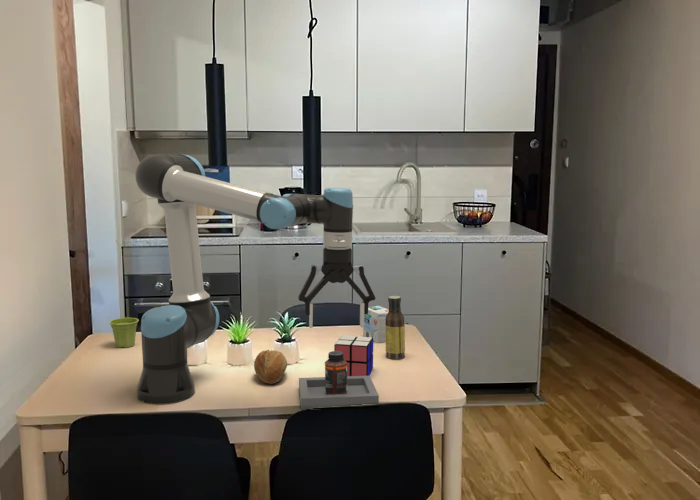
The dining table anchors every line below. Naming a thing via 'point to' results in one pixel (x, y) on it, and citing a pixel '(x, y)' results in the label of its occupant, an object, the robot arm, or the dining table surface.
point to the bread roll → (270, 366)
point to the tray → (357, 394)
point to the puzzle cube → (356, 354)
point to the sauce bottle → (395, 330)
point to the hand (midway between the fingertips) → (336, 326)
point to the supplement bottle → (335, 374)
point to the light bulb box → (375, 323)
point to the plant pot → (124, 331)
